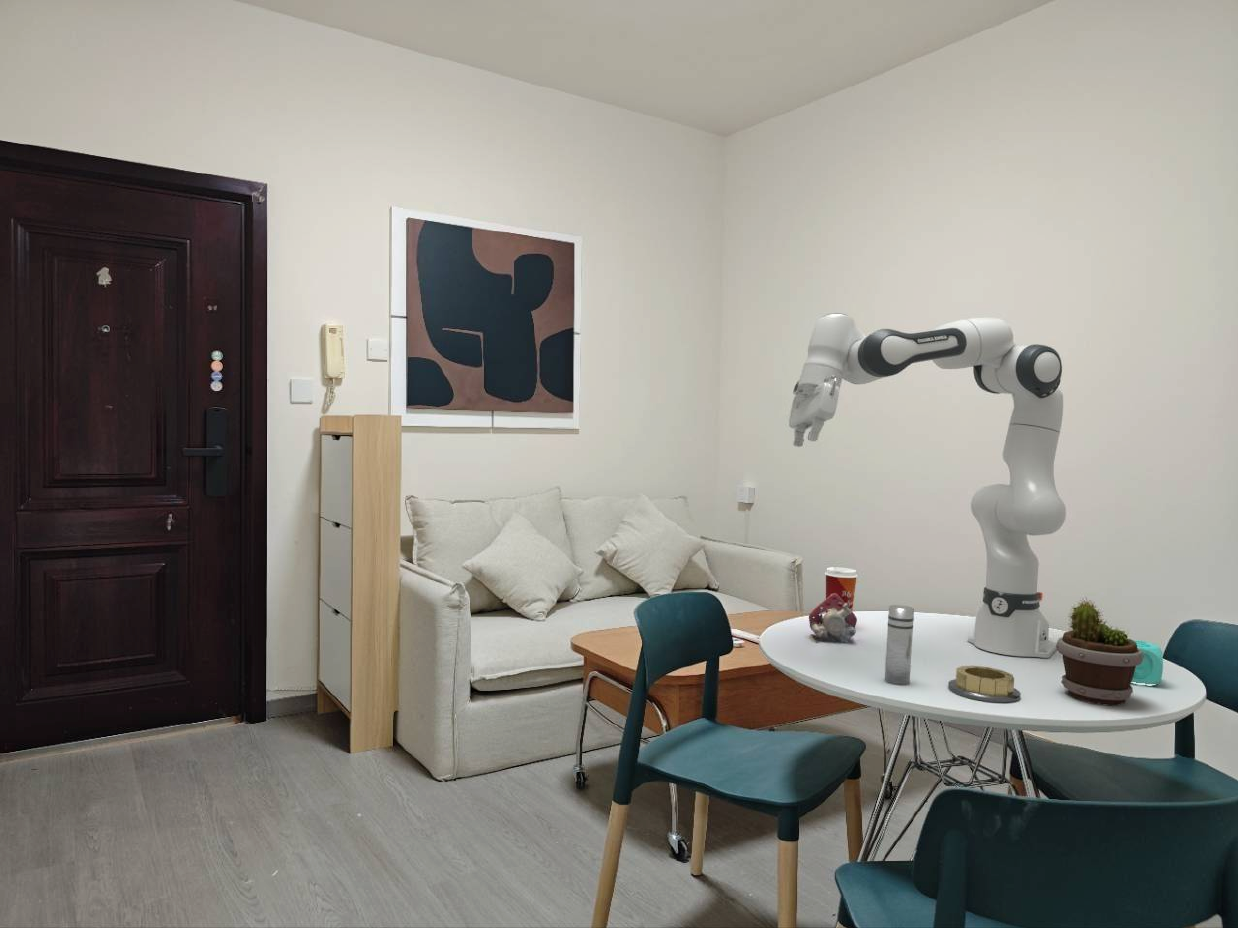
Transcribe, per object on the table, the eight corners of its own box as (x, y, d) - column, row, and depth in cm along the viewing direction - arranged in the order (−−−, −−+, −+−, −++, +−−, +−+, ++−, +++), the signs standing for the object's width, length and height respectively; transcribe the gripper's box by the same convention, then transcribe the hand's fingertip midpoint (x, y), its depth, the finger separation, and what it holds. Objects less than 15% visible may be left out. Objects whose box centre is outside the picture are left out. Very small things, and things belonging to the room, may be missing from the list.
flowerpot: (1108, 686, 175) (1115, 590, 174) (1157, 711, 160) (1165, 605, 159) (1038, 684, 175) (1045, 587, 174) (1080, 708, 159) (1088, 602, 158)
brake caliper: (851, 624, 212) (858, 591, 205) (856, 659, 204) (863, 627, 196) (805, 621, 213) (810, 588, 206) (807, 656, 205) (813, 623, 197)
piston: (892, 676, 175) (896, 604, 175) (914, 682, 172) (918, 608, 171) (879, 680, 172) (884, 606, 171) (902, 686, 168) (906, 611, 168)
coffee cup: (849, 633, 213) (852, 573, 212) (817, 627, 217) (820, 569, 216) (858, 627, 220) (862, 569, 219) (827, 622, 224) (830, 565, 224)
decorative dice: (1152, 678, 183) (1155, 641, 183) (1161, 688, 176) (1164, 650, 175) (1110, 673, 186) (1112, 637, 186) (1117, 683, 178) (1119, 645, 178)
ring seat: (966, 678, 176) (967, 660, 176) (1031, 694, 167) (1032, 675, 167) (936, 689, 167) (937, 670, 167) (1003, 707, 158) (1004, 687, 158)
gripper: (851, 378, 178) (835, 441, 176) (817, 396, 198) (802, 452, 196) (823, 369, 177) (807, 432, 176) (791, 388, 198) (776, 445, 196)
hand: (804, 443), depth 186 cm, fingers open, 8 cm apart
